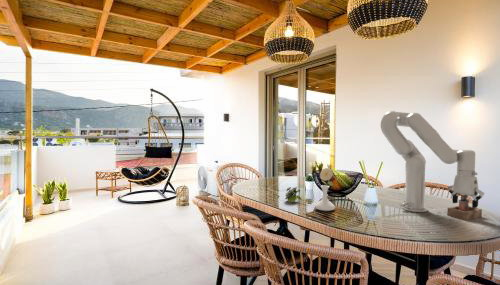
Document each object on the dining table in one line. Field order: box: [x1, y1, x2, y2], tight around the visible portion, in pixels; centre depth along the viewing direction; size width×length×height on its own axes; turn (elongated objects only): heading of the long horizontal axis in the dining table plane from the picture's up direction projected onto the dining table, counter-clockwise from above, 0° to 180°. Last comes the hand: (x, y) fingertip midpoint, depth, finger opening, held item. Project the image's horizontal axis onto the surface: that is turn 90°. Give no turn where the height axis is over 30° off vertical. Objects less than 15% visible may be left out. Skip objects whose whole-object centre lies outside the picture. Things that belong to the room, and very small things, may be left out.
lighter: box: [458, 194, 470, 211], centre depth 150 cm, size 8×3×10 cm, turn 124°
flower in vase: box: [314, 167, 336, 212], centre depth 162 cm, size 13×11×25 cm
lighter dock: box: [446, 205, 483, 221], centre depth 150 cm, size 13×9×4 cm
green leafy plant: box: [284, 186, 302, 204], centre depth 182 cm, size 11×11×12 cm
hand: (464, 205), depth 150 cm, fingers open, 9 cm apart
